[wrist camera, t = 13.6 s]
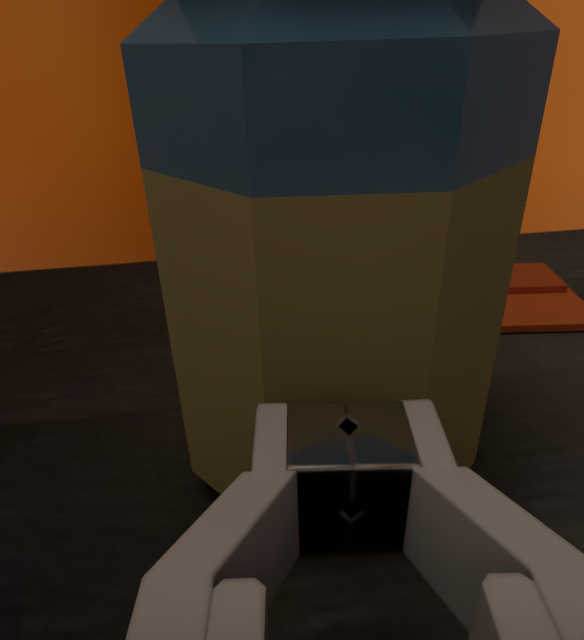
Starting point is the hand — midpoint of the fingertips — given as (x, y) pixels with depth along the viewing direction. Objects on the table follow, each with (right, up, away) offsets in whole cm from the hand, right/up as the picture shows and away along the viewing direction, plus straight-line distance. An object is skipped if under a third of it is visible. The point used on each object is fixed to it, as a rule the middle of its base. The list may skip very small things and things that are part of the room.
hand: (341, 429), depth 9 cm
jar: (0, -2, +8) cm, 9 cm away
